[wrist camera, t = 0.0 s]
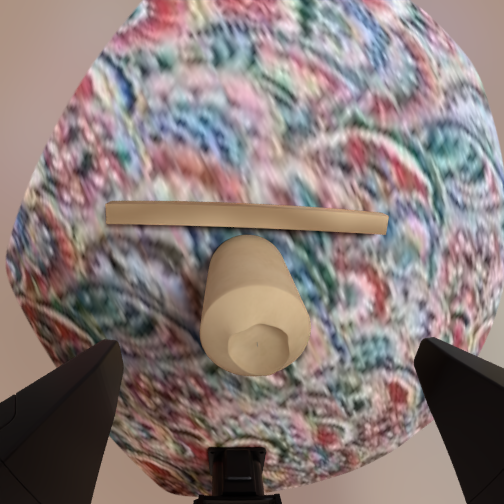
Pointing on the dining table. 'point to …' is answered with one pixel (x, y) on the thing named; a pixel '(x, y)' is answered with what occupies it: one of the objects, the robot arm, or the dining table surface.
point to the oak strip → (245, 216)
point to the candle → (252, 309)
